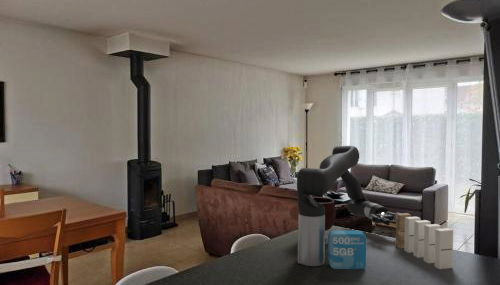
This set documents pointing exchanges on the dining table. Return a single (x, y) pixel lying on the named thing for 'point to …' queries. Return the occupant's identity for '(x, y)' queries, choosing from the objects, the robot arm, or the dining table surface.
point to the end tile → (443, 248)
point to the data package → (346, 249)
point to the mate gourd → (327, 212)
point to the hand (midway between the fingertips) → (398, 222)
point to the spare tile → (400, 229)
